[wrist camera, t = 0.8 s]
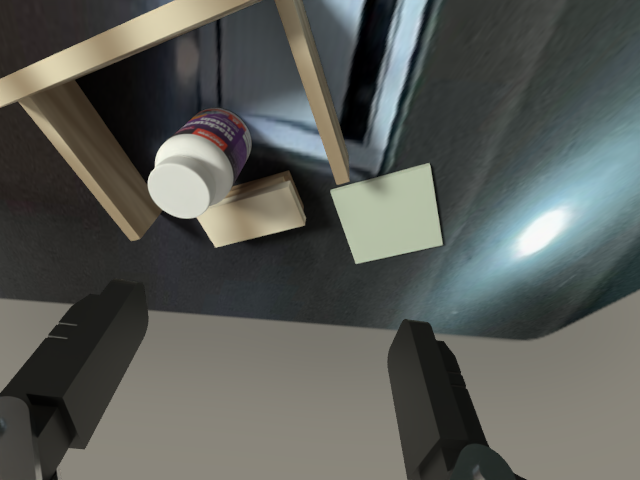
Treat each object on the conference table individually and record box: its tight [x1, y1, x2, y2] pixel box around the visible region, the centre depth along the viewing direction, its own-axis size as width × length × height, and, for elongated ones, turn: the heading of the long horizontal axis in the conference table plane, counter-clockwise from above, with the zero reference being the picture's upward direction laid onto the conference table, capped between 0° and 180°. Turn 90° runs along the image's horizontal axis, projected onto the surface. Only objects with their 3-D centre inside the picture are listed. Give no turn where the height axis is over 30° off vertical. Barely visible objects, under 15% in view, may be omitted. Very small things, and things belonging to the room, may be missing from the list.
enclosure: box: [0, 0, 350, 241], centre depth 25 cm, size 20×14×8 cm
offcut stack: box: [197, 170, 306, 247], centre depth 32 cm, size 10×4×4 cm, turn 108°
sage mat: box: [331, 163, 443, 264], centre depth 34 cm, size 9×9×1 cm
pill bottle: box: [148, 108, 252, 219], centre depth 26 cm, size 5×5×10 cm
